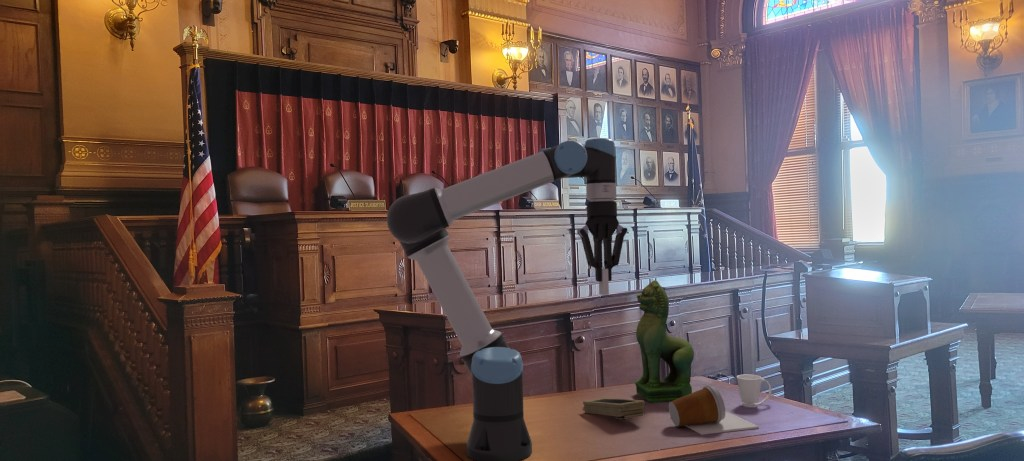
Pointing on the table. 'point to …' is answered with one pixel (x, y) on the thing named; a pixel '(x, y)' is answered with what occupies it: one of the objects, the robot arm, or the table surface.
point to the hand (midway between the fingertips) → (604, 294)
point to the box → (615, 407)
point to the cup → (751, 389)
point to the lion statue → (661, 350)
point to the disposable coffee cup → (698, 407)
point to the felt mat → (723, 425)
